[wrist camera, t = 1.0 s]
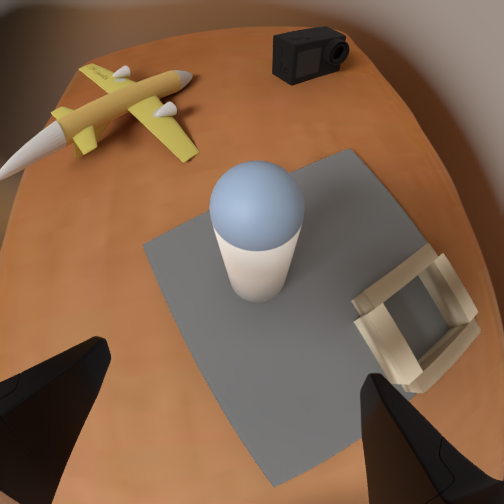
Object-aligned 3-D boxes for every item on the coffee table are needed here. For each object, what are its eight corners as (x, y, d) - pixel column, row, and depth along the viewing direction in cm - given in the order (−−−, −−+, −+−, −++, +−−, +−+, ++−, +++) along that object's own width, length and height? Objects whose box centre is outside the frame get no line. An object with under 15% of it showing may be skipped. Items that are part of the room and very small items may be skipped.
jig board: (472, 329, 20) (478, 327, 20) (273, 482, 16) (273, 487, 16) (347, 154, 28) (349, 148, 28) (146, 249, 24) (142, 244, 24)
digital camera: (296, 90, 33) (301, 48, 27) (271, 74, 35) (272, 34, 29) (345, 74, 36) (353, 38, 29) (320, 60, 37) (325, 25, 31)
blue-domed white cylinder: (295, 285, 22) (333, 197, 11) (246, 312, 21) (233, 247, 10) (267, 240, 23) (274, 129, 12) (220, 265, 23) (186, 165, 11)
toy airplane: (140, 69, 40) (-13, 152, 24) (145, 36, 33) (-27, 117, 18) (242, 149, 39) (58, 286, 23) (260, 112, 33) (34, 260, 17)
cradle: (465, 331, 20) (485, 325, 17) (398, 397, 18) (416, 399, 15) (417, 252, 23) (433, 238, 20) (343, 305, 21) (355, 296, 18)
